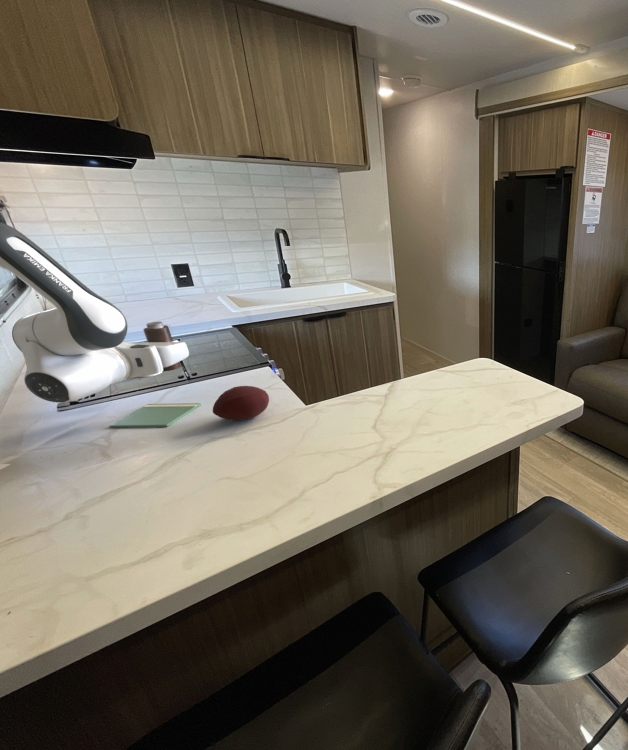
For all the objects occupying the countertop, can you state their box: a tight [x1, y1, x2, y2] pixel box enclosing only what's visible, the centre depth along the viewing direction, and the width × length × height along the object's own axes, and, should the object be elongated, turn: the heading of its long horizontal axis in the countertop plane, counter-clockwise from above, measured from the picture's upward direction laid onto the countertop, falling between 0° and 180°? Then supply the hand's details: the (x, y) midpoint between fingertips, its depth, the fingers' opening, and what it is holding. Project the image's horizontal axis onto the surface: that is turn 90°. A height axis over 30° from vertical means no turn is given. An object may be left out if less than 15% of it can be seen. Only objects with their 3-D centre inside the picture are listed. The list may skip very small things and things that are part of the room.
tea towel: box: [108, 402, 202, 429], centre depth 103 cm, size 14×12×1 cm
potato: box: [212, 385, 270, 421], centre depth 100 cm, size 12×11×8 cm
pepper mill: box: [142, 321, 182, 372], centre depth 104 cm, size 5×5×12 cm
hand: (164, 343), depth 104 cm, fingers closed on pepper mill, 5 cm apart
